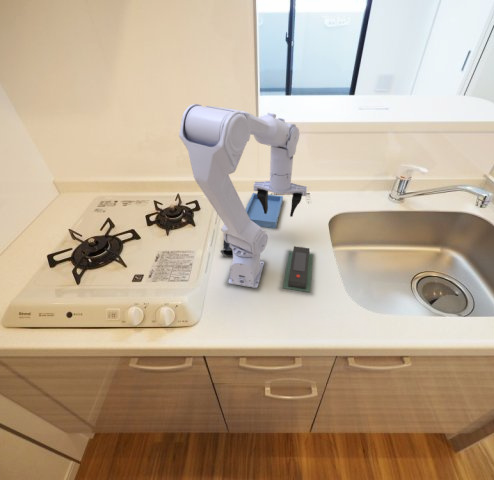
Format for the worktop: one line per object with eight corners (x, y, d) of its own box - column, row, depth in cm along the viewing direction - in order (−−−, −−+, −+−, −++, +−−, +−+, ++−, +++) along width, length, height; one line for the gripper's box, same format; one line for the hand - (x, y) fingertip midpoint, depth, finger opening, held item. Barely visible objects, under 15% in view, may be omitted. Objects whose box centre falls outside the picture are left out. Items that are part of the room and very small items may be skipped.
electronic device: (253, 260, 77) (256, 224, 87) (250, 249, 73) (253, 212, 83) (223, 262, 79) (229, 226, 88) (218, 251, 75) (225, 214, 84)
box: (275, 228, 87) (276, 222, 85) (242, 224, 89) (241, 218, 87) (282, 201, 99) (282, 196, 97) (252, 198, 101) (252, 192, 99)
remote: (305, 289, 67) (306, 282, 65) (287, 286, 68) (288, 279, 66) (308, 254, 76) (309, 247, 75) (293, 252, 77) (293, 245, 75)
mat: (309, 292, 67) (310, 291, 66) (282, 288, 68) (282, 287, 67) (312, 255, 77) (312, 254, 77) (289, 251, 78) (289, 250, 78)
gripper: (309, 166, 70) (304, 208, 79) (257, 162, 72) (257, 203, 81) (308, 178, 65) (302, 222, 73) (251, 173, 67) (252, 216, 76)
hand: (278, 213), depth 77 cm, fingers open, 7 cm apart
